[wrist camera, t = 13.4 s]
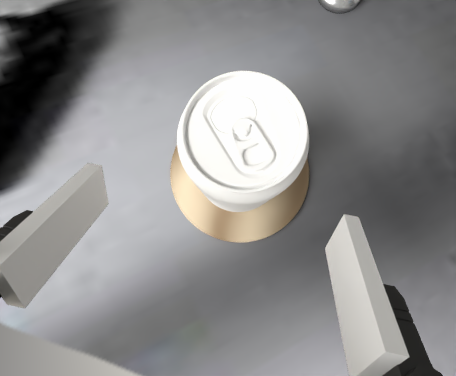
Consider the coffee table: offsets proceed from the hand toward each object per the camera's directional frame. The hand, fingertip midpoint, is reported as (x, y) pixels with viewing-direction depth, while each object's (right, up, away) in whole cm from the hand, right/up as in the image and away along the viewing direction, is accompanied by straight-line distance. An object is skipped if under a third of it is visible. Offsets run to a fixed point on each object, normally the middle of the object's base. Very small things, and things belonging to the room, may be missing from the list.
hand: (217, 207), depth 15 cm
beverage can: (+2, +3, +12) cm, 13 cm away
